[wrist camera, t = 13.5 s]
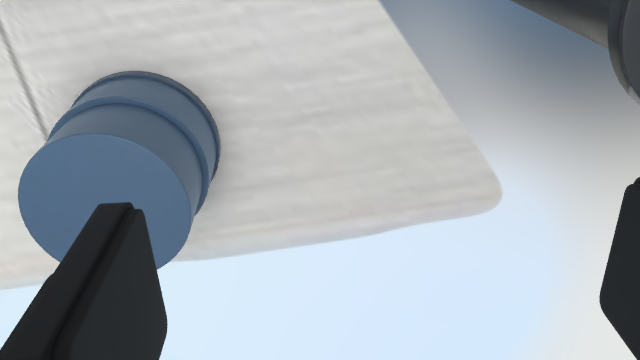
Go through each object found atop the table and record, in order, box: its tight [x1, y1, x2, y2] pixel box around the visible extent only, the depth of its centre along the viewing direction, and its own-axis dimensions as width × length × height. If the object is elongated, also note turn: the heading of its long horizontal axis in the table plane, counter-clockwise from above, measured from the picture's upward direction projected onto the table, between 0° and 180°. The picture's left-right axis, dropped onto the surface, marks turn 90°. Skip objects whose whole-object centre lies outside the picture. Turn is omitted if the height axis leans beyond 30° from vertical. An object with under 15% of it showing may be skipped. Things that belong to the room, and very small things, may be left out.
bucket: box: [18, 71, 220, 269], centre depth 37 cm, size 11×11×10 cm
